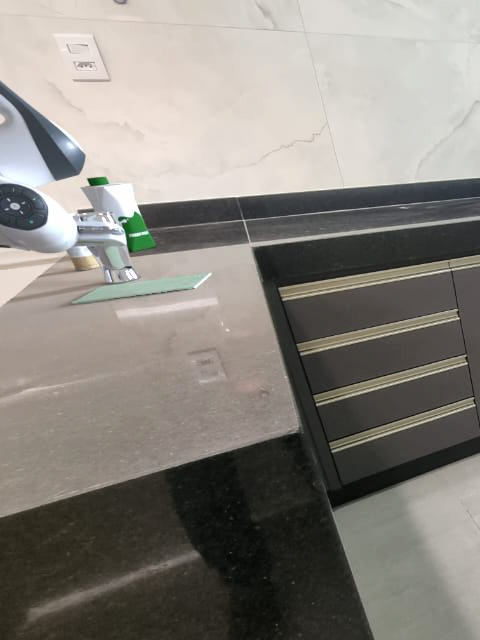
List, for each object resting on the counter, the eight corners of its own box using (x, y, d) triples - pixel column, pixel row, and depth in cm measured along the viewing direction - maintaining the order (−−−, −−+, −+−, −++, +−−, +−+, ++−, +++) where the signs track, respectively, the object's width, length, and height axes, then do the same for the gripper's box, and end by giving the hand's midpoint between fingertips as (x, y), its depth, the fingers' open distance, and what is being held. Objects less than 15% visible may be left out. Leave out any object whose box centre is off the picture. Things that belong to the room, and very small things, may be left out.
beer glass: (95, 284, 118) (61, 216, 112) (129, 275, 125) (98, 210, 118) (118, 285, 117) (85, 216, 110) (151, 276, 123) (121, 210, 117)
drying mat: (73, 304, 105) (72, 302, 104) (102, 287, 115) (101, 286, 115) (195, 288, 112) (194, 286, 111) (211, 274, 122) (210, 272, 122)
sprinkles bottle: (89, 266, 136) (63, 213, 130) (105, 266, 135) (79, 212, 129) (70, 271, 131) (42, 216, 126) (86, 271, 131) (59, 215, 125)
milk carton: (137, 245, 159) (106, 176, 150) (162, 245, 157) (132, 175, 149) (106, 252, 151) (71, 179, 142) (132, 252, 149) (99, 178, 141)
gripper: (118, 212, 101) (129, 227, 112) (-50, 207, 89) (-20, 225, 100) (124, 245, 102) (134, 257, 113) (-42, 244, 89) (-13, 258, 100)
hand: (61, 242), depth 106 cm, fingers open, 8 cm apart
